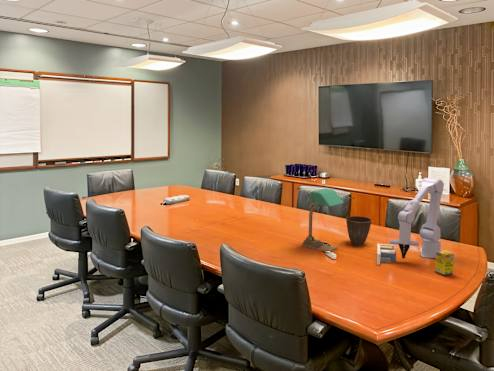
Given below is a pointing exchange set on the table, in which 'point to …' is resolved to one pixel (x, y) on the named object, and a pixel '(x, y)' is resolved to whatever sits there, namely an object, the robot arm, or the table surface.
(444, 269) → the supplement box
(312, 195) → the banker's lamp
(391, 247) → the book rack
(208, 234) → the table surface
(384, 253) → the boxed book
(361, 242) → the plant pot
